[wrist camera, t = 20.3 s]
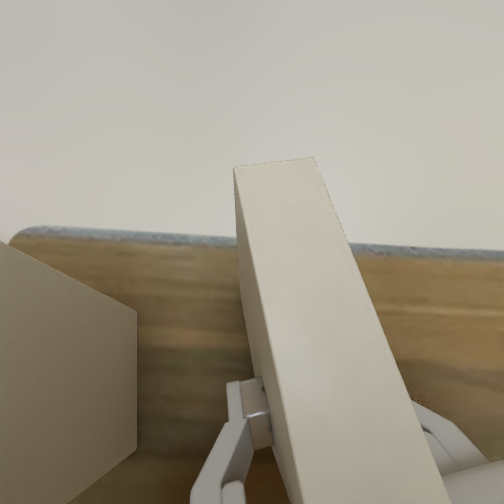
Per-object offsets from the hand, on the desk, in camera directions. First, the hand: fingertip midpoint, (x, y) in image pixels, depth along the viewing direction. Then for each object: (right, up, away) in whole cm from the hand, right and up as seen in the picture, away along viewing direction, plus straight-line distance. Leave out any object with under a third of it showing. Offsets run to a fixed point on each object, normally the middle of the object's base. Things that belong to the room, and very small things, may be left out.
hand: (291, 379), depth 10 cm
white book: (-1, -2, +8) cm, 8 cm away
